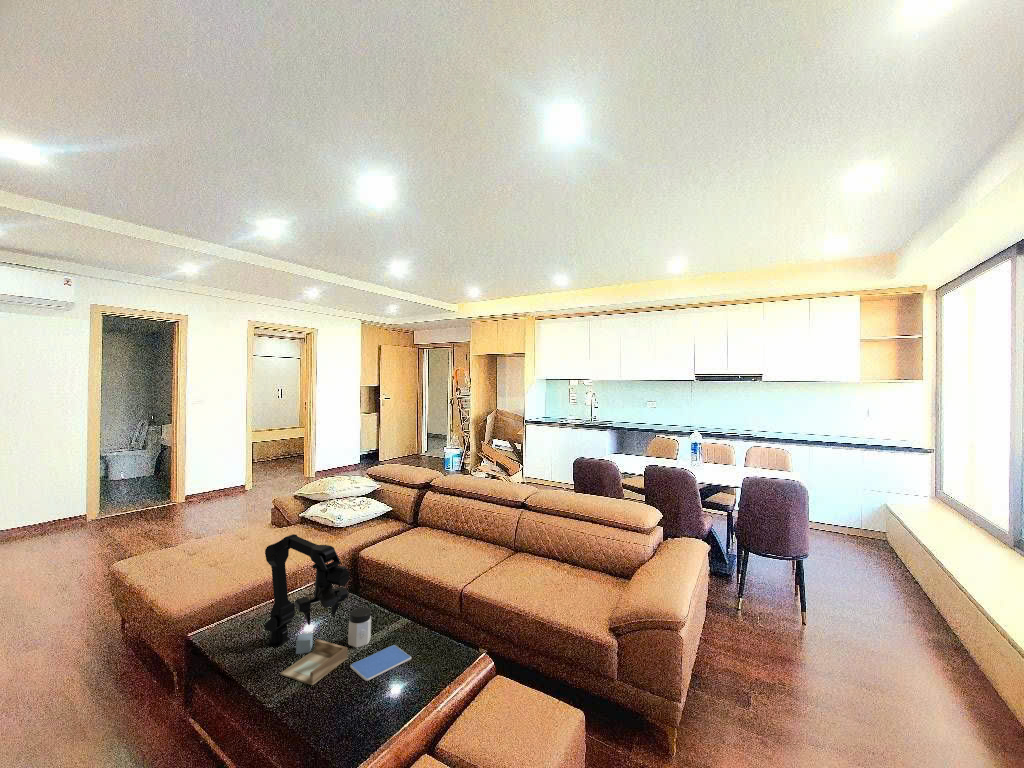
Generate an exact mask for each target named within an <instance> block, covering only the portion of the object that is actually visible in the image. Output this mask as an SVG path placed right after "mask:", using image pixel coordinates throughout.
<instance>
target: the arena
mask: <svg viewBox="0 0 1024 768" xmlns="http://www.w3.org/2000/svg"><path fill="white" fill-rule="evenodd" d="M348 649H349V648H348V647H347V646H343V645H339V644H336V643H332V642H330V641H327V640H326V641H325V640H322V639H318V638H317V639H315V640H314V650H312V651H310V653H307V654H306V655H305V656H303V657H302V658H299V660H297V661H296V662H294V663H293V664H292V665H290V666H289V667H287V668H286V669H284V670H282V671H281V672H280V676H284V677H287V678H290V679H291V680H292V679H293V680H295V681H298V682H301V683H304V684H306V685H310V686H314V685H315V684H316V683H318V682H319V681H320V680H321V679H323V678H324V677H325V676H327V675H328V674H329V673H330V672H332V671H333V670H335V669H336V668H337V667H338V666H340V665H341V664H342V663H343V662H345V661H346V660H347V659H348Z"/></svg>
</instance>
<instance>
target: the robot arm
mask: <svg viewBox="0 0 1024 768" xmlns="http://www.w3.org/2000/svg"><path fill="white" fill-rule="evenodd" d="M290 549H291V550H294V551H295V552H299V553H300V554H304V555H305V556H308V557H310V561H311V562H312V563H314V564H313V565H312V566H311V568H312V569H315V570H316V571H315V581H313V583H314V584H313V585H314V592H313V596H314V597H313V598H308V597H307V596H304V597H300V598H297V599H296V600H295V602H292V601H290V599H289V595H288V594H289V593H288V583H287V582H288V581H287V579H288V578H287V571H286V570H287V568H286V562H287V560H288V557H289V555H290V553H289V552H290ZM336 551H337V550H336V549H335V547H334V546H333V545H330V544H329V545H328V544H316V543H314V542H311V541H309V540H307V539H304V538H302V537H300V536H298V535H297V534H290V535H287V536H284V537H283V538H281V540H279V541H277V542H275V543H272V544H269V545H268V546H266V548H265V550H264V554H265V556H264V557H265V560H266V562H267V564H268V565H270V567H271V578H272V588H273V589H272V591H273V598H274V599H273V602H274V603H273V605H272V608H271V610H270V619H269V620H268V621H266V623H264V628H265V629H264V630H265V631H268V632H269V635H268V640H267V641H266V642H265V645H269V646H272V647H275V648H279V647H280V646H281V645H283V644H285V643H286V642H288V641H290V640H291V637H289V636H288V635H289V632H288V625H289V624H291V623H292V621H293V618H294V617H295V613H296V610H297V611H298V612H299V613H300V612H301V613H303V614H304V617H305V621H306V623H307V625H308V626H310V625H311V612H312V609H311V607H312V605H313V604H317V603H321V606H322V608H323V609H327V608H328V607H331V617H332V618H334V617H335V616H336V613H337V611H338V608H339V606H340V604H341V603H343V602H345V600H346V599H348V598H349V591H348V590H347V589H346V588H345V586H346V585H347V584H348V582H349V581H350V576H351V575H350V574H351V573H350V571H349V570H348V569H347V566H343V565H341V563H342V562H341V560H340V557H339V556H338V553H337V552H336ZM329 562H330V563H329ZM333 585H335V586H339V587H336V588H334V587H333Z"/></svg>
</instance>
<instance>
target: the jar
mask: <svg viewBox="0 0 1024 768" xmlns="http://www.w3.org/2000/svg"><path fill="white" fill-rule="evenodd" d="M371 612H372V611H371V609H370V608H368V607H358V608H357V607H356V608H354V609H352V610H351V611H350V613H349V620H348V635H347V637H348V638H347V644H348V645H347V646H351V647H354V648H360V647H364V646H366V645H367V646H368V644H369V642H370V640H371V638H372V637H371V636H372V635H371V633H372V615H371Z"/></svg>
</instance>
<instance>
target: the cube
mask: <svg viewBox="0 0 1024 768" xmlns="http://www.w3.org/2000/svg"><path fill="white" fill-rule="evenodd" d="M313 635H314V633H313V632H310V633H302V634H301V633H300V634H298V636H297V639H296V643H295V655H299V654H300V655H302V654H309V653H310V652H312V651H311V650H312V648H313V638H314V637H313Z"/></svg>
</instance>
